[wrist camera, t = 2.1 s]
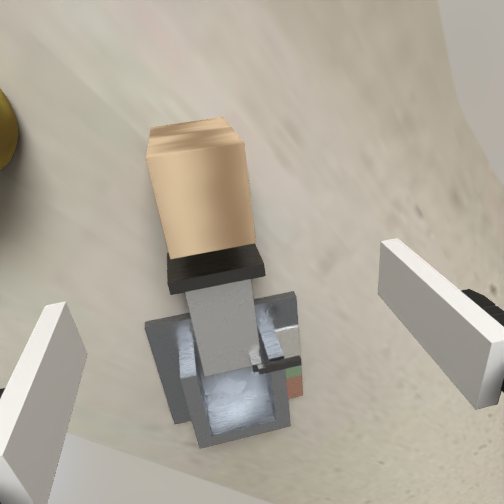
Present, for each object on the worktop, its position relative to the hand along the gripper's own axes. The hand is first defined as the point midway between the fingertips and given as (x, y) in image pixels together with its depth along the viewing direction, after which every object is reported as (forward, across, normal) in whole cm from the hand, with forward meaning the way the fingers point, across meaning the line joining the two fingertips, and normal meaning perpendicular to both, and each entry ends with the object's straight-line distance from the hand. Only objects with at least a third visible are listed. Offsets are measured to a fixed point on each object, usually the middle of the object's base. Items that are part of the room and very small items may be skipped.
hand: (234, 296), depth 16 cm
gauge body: (+21, 0, -22) cm, 30 cm away
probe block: (+20, 0, 0) cm, 21 cm away
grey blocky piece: (+19, +1, -14) cm, 24 cm away
